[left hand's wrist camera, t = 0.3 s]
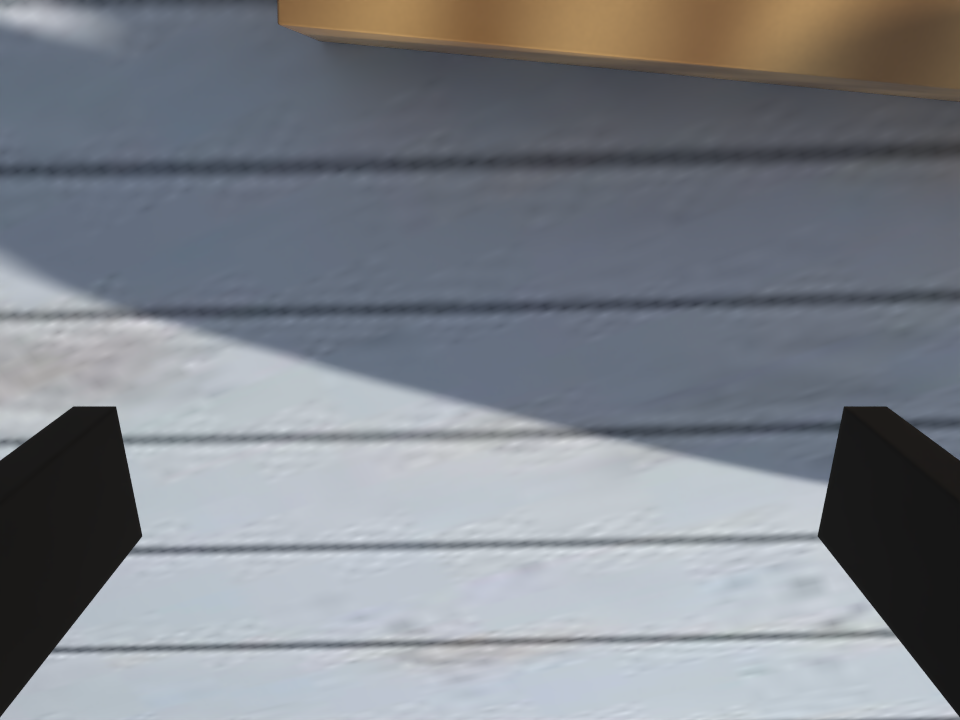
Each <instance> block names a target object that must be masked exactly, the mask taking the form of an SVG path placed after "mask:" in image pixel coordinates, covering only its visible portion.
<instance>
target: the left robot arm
mask: <svg viewBox="0 0 960 720" xmlns="http://www.w3.org/2000/svg"><path fill="white" fill-rule="evenodd" d="M141 537H142V532H141V527H140V522H139V518H138V513H137V508H136V503H135V498H134V493H133V488H132V483H131V478H130V473H129V468H128V463H127V458H126V454H125V449H124V444H123V439H122V434H121V429H120V424H119V419H118V414H117V409H116V407H72V408H71V409H70V410H68V411H67V412H65V413H64V414H63V415H61V416H60V417H59V418H57V419H56V420H55V421H53V422H52V423H51V424H49V425H48V426H46V427H45V428H44V429H42V430H41V431H40V432H38V433H37V434H36V435H34V436H33V437H32V438H30V439H29V440H28V441H26V442H25V443H23V444H22V445H21V446H19V447H18V448H17V449H15V450H14V451H13V452H11V453H10V454H9V455H7V456H6V457H5V458H3V459H2V460H0V717H1V715H2V714H3V713H4V712H5V710H6V709H7V708H8V707H9V705H10V704H11V703H12V701H13V700H14V699H15V698H16V696H17V695H18V694H19V693H20V691H21V690H22V689H23V687H24V686H25V685H26V684H27V682H28V681H29V680H30V679H31V677H32V676H33V675H34V673H35V672H36V671H37V670H38V668H39V667H40V666H41V665H42V663H43V662H44V661H45V659H46V658H47V657H48V656H49V654H50V653H51V652H52V651H53V649H54V648H55V647H56V645H57V644H58V643H59V642H60V640H61V639H62V638H63V637H64V635H65V634H66V633H67V631H68V630H69V629H70V628H71V626H72V625H73V624H74V622H75V621H76V620H77V619H78V617H79V616H80V615H81V614H82V612H83V611H84V610H85V608H86V607H87V606H88V605H89V603H90V602H91V601H92V600H93V598H94V597H95V596H96V594H97V593H98V592H99V591H100V589H101V588H102V587H103V586H104V584H105V583H106V582H107V580H108V579H109V578H110V577H111V575H112V574H113V573H114V572H115V570H116V569H117V568H118V566H119V565H120V564H121V563H122V561H123V560H124V559H125V558H126V556H127V555H128V554H129V552H130V551H131V550H132V549H133V547H134V546H135V545H136V544H137V542H138V541H139V540H140V538H141ZM818 537H819V538H820V540H821V541H822V542H823V544H824V545H825V546H826V547H827V549H828V550H829V551H830V552H831V554H832V555H833V556H834V558H835V559H836V560H837V561H838V563H839V564H840V565H841V566H842V568H843V569H844V570H845V572H846V573H847V574H848V575H849V577H850V578H851V579H852V580H853V582H854V583H855V584H856V586H857V587H858V588H859V589H860V591H861V592H862V593H863V594H864V596H865V597H866V598H867V600H868V601H869V602H870V603H871V605H872V606H873V607H874V608H875V610H876V611H877V612H878V614H879V615H880V616H881V617H882V619H883V620H884V621H885V622H886V624H887V625H888V626H889V628H890V629H891V630H892V631H893V633H894V634H895V635H896V637H897V638H898V639H899V640H900V642H901V643H902V644H903V645H904V647H905V648H906V649H907V651H908V652H909V653H910V654H911V656H912V657H913V658H914V659H915V661H916V662H917V663H918V665H919V666H920V667H921V668H922V670H923V671H924V672H925V673H926V675H927V676H928V677H929V679H930V680H931V681H932V682H933V684H934V685H935V686H936V687H937V689H938V690H939V691H940V693H941V694H942V695H943V696H944V698H945V699H946V700H947V701H948V703H949V704H950V705H951V707H952V708H953V709H954V710H955V712H956V713H957V714H958V715H959V717H960V460H958V459H957V458H955V457H954V456H953V455H951V454H950V453H949V452H947V451H946V450H945V449H943V448H942V447H941V446H939V445H938V444H937V443H935V442H934V441H932V440H931V439H930V438H928V437H927V436H926V435H924V434H923V433H922V432H920V431H919V430H918V429H916V428H915V427H914V426H912V425H911V424H909V423H908V422H907V421H905V420H904V419H903V418H901V417H900V416H899V415H897V414H896V413H895V412H893V411H892V410H890V409H889V408H888V407H844V409H843V414H842V419H841V424H840V429H839V434H838V439H837V444H836V449H835V454H834V458H833V463H832V468H831V473H830V478H829V483H828V488H827V493H826V498H825V503H824V508H823V513H822V518H821V522H820V527H819V532H818Z"/></svg>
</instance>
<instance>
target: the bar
mask: <svg viewBox="0 0 960 720" xmlns="http://www.w3.org/2000/svg"><path fill="white" fill-rule="evenodd" d="M277 9H278V24H279V25H281V26H284V27H286V28H289V29H291V30H294V31H296V32H299V33H301V34H304V35H306V36H309V37H311V38H314V39H316V40H319V41H325V42H336V43H346V44H357V45H367V46H378V47H389V48H399V49H410V50H420V51H431V52H441V53H452V54H462V55H473V56H484V57H494V58H505V59H515V60H526V61H536V62H547V63H557V64H568V65H579V66H589V67H600V68H610V69H621V70H631V71H642V72H653V73H663V74H674V75H684V76H695V77H705V78H716V79H726V80H737V81H748V82H758V83H769V84H779V85H790V86H800V87H811V88H821V89H832V90H843V91H853V92H864V93H874V94H885V95H895V96H906V97H917V98H927V99H938V100H948V101H959V102H960V0H277Z"/></svg>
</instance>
